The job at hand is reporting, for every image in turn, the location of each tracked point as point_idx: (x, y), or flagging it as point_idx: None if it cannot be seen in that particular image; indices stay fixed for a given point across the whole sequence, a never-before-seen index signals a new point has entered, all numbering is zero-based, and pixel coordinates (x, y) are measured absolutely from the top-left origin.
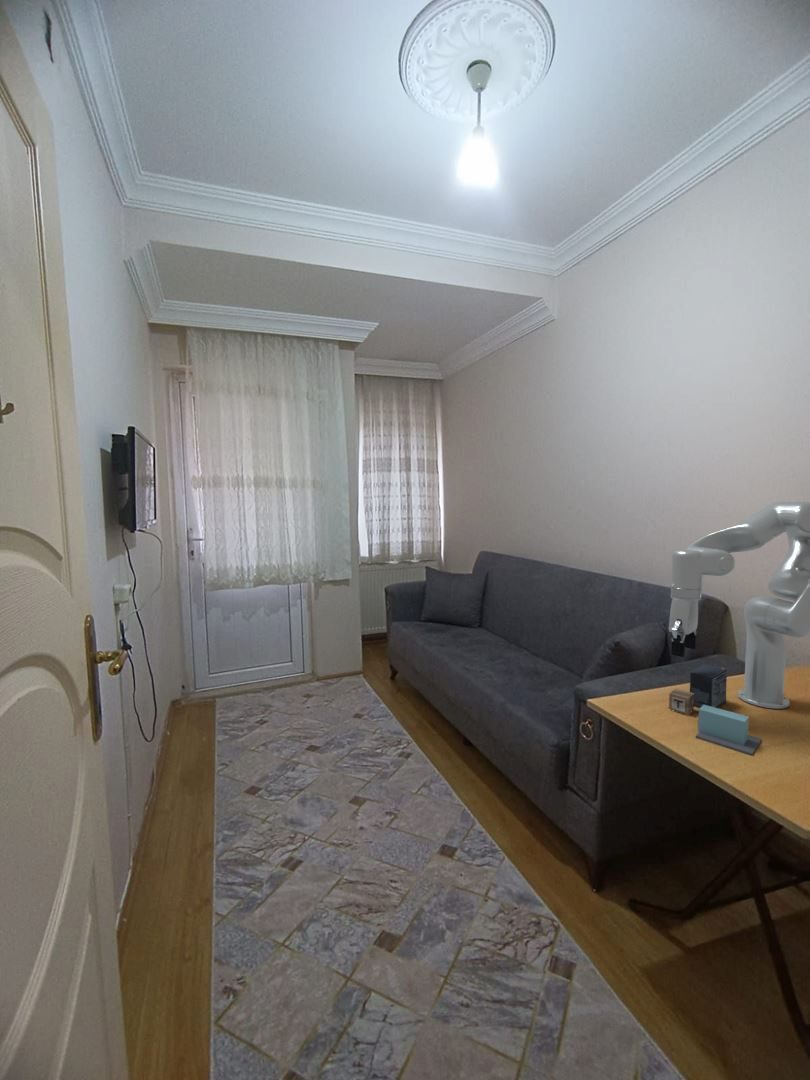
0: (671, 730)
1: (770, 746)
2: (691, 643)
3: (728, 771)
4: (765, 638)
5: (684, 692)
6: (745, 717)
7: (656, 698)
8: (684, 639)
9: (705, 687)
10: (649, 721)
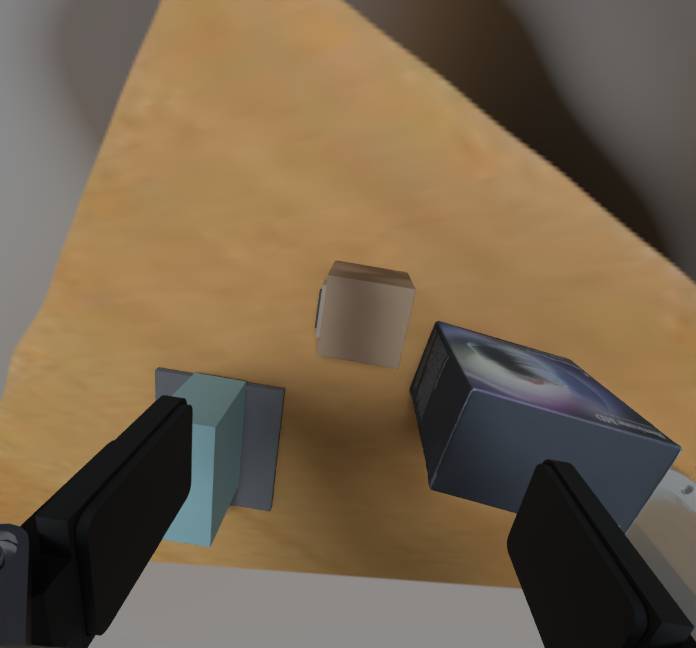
0: (154, 297)
1: (250, 521)
2: (537, 574)
3: (30, 446)
4: None
5: (384, 331)
6: (195, 539)
7: (433, 192)
8: (585, 546)
9: (428, 422)
10: (170, 215)
